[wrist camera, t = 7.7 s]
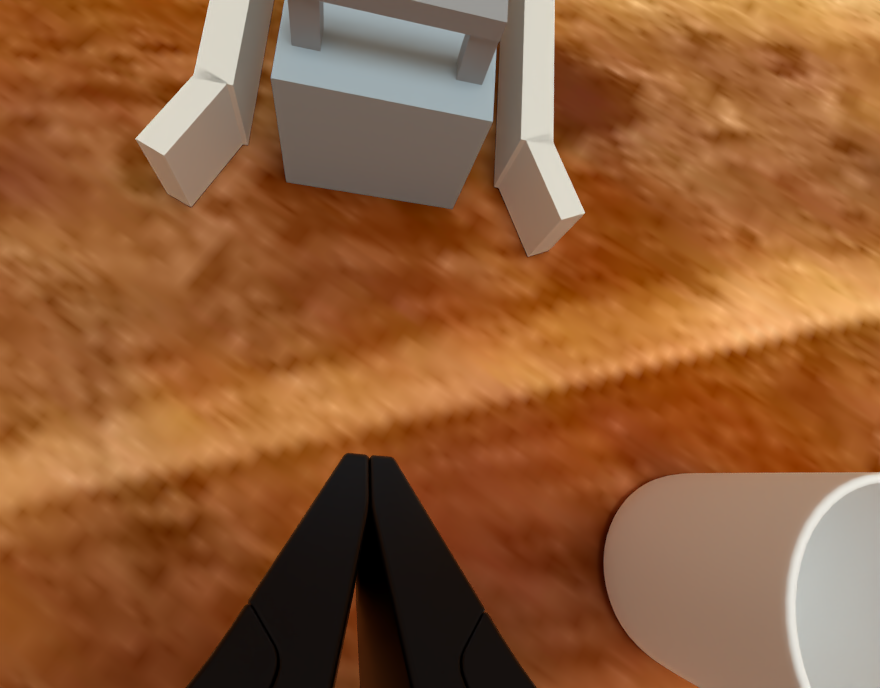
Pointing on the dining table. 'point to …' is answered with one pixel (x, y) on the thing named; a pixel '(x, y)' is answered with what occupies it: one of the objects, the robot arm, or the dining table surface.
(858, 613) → the mug
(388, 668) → the robot arm
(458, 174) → the box with loop handle
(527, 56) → the bay
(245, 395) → the dining table surface
